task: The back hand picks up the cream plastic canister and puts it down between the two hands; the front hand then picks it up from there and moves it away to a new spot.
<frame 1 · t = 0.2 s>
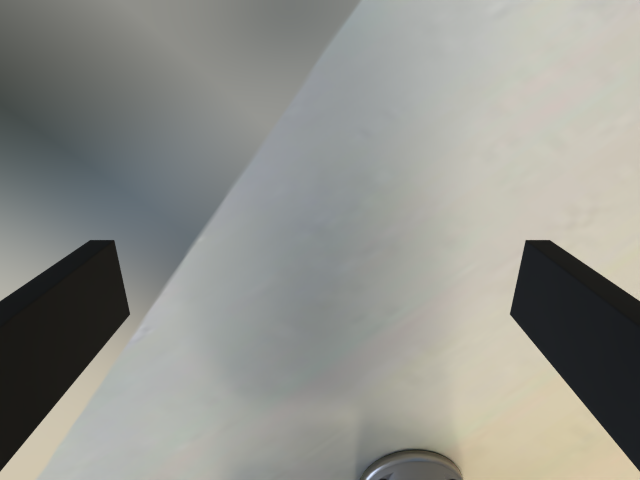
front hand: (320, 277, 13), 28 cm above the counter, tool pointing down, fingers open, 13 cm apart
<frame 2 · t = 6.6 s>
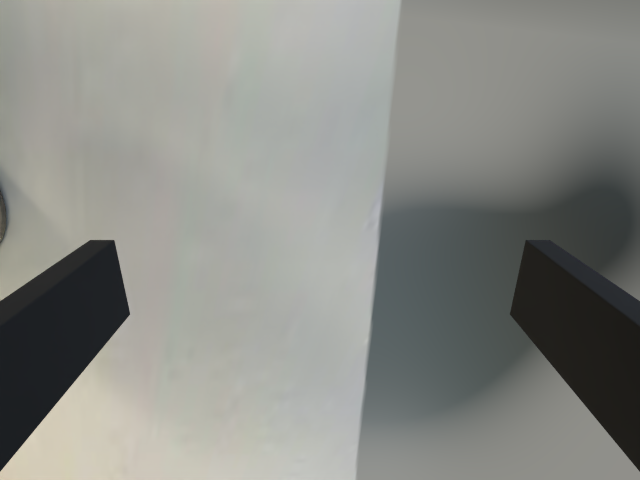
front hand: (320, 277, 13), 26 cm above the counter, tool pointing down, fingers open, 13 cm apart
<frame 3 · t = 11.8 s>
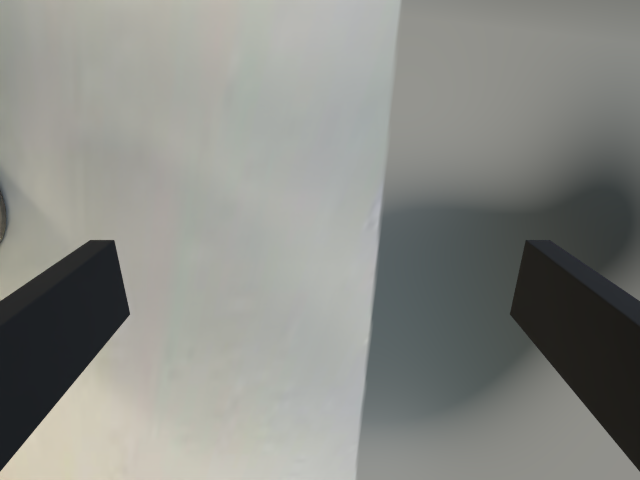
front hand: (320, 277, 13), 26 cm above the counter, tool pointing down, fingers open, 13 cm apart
when the back hand's fingers open (5 cm above the counter, at t = 16.8 s): canister drops 1 cm, on the counter.
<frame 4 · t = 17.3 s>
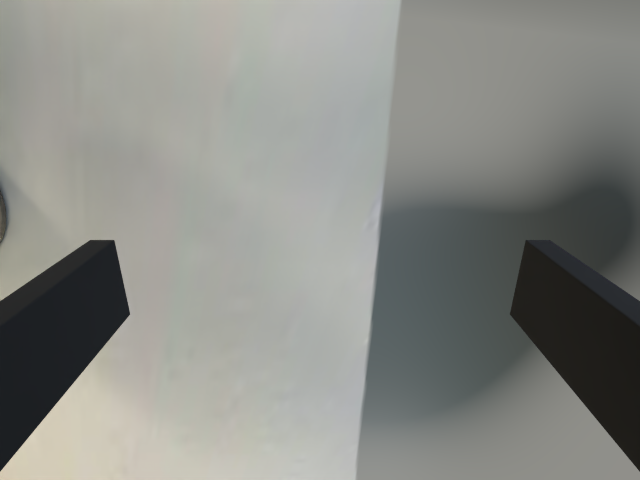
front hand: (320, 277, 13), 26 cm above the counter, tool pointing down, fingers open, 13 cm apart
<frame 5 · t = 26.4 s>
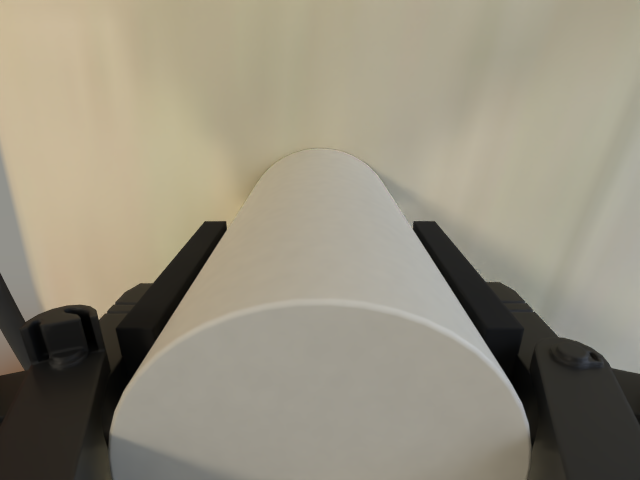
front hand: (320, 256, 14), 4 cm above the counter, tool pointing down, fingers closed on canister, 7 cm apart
canister: (320, 221, 18), on the counter, touching front hand
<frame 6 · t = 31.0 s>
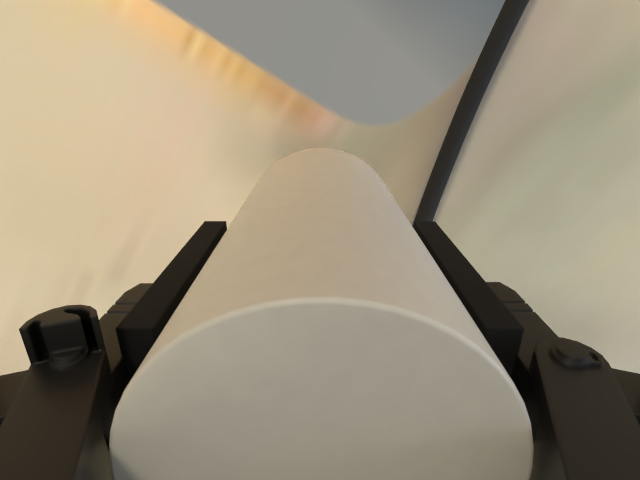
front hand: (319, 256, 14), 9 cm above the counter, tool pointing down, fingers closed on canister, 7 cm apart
canister: (320, 220, 18), point 5 cm above the counter, touching front hand
when the front hand's fingers open (5 cm above the counter, at t = 35.5 s): canister drops 1 cm, on the counter.
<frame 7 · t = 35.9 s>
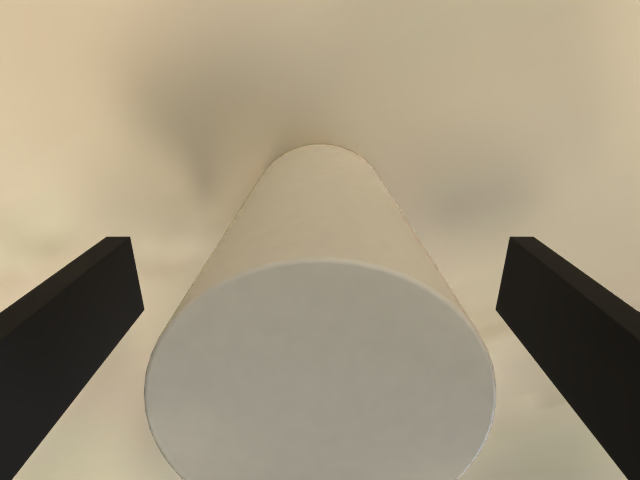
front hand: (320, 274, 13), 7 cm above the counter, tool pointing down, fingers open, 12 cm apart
canister: (320, 212, 19), on the counter
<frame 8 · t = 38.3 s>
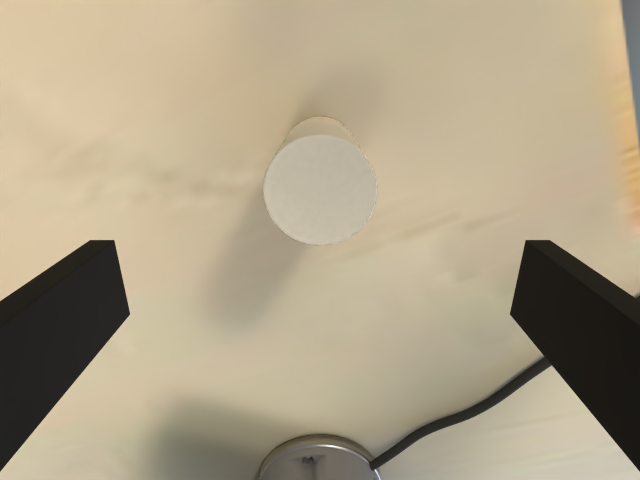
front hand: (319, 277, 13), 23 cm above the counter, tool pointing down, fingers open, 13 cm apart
canister: (320, 155, 34), on the counter
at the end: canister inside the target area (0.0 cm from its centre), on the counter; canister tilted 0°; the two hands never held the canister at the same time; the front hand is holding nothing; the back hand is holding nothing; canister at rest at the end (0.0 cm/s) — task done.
